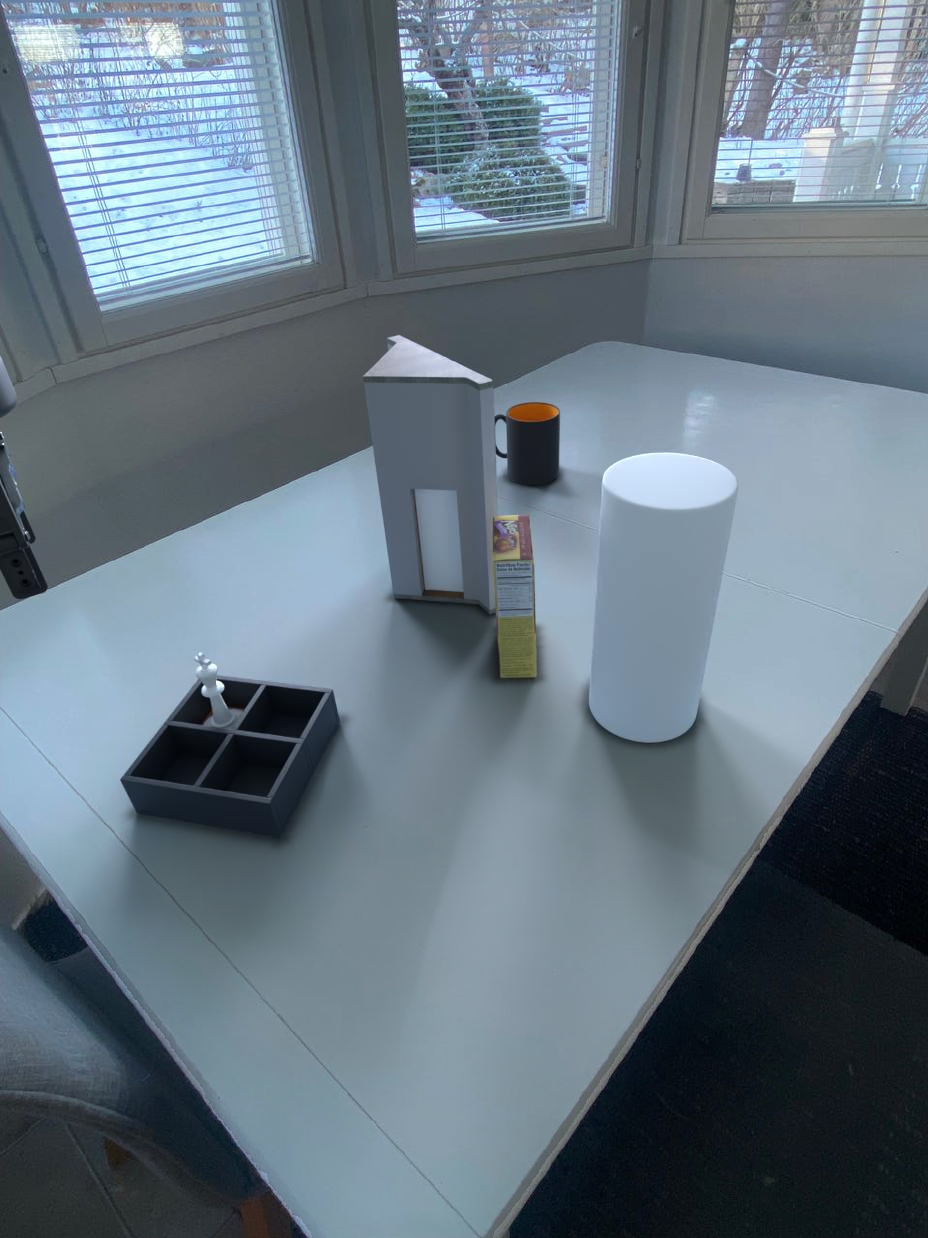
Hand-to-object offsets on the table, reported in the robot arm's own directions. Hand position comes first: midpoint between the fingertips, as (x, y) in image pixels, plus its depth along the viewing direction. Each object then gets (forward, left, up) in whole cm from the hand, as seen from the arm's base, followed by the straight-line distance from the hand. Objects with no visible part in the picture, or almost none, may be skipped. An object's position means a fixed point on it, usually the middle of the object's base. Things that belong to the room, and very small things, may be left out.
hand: (26, 567), depth 54 cm
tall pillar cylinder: (+20, -46, -25) cm, 56 cm away
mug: (+72, -25, -25) cm, 80 cm away
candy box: (+26, -32, -25) cm, 48 cm away
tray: (+5, -9, -25) cm, 27 cm away
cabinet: (+38, -18, -25) cm, 49 cm away
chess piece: (+8, -5, -24) cm, 26 cm away
